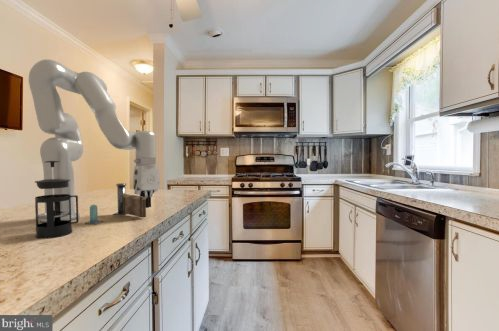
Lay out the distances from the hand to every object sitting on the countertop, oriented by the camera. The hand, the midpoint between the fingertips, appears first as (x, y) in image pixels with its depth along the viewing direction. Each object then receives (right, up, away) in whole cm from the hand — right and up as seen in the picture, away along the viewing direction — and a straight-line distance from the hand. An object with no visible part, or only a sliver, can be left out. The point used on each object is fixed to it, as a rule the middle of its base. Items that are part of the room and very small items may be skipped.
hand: (146, 207), depth 109 cm
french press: (-19, -5, -25) cm, 32 cm away
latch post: (-15, -4, -11) cm, 19 cm away
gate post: (-12, -4, +4) cm, 13 cm away
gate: (-5, -3, -1) cm, 6 cm away
